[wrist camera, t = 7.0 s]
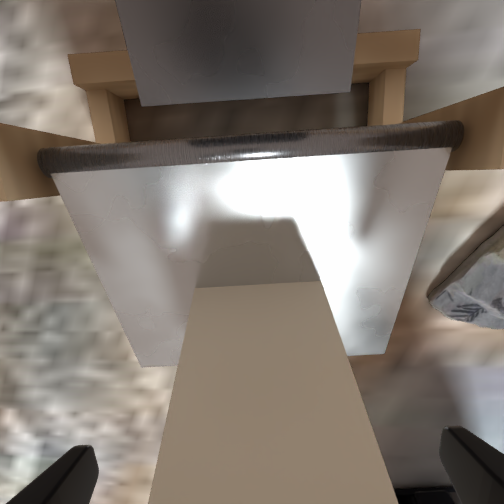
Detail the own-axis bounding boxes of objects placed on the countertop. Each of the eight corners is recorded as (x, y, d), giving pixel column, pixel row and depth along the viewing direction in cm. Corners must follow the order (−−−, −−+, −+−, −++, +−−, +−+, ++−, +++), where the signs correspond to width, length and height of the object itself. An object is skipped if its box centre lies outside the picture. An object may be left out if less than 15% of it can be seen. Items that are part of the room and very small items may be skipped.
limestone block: (313, 358, 14) (361, 570, 8) (212, 363, 14) (189, 577, 8) (321, 280, 11) (404, 519, 5) (194, 288, 11) (141, 532, 5)
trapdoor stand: (374, 313, 20) (494, 450, 10) (146, 326, 20) (46, 472, 10) (388, 56, 15) (619, -142, 6) (101, 76, 16) (-140, -82, 6)
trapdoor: (375, 327, 15) (396, 369, 13) (146, 340, 15) (131, 383, 13) (484, -66, 7) (584, -117, 5) (-6, -28, 7) (-106, -64, 5)
